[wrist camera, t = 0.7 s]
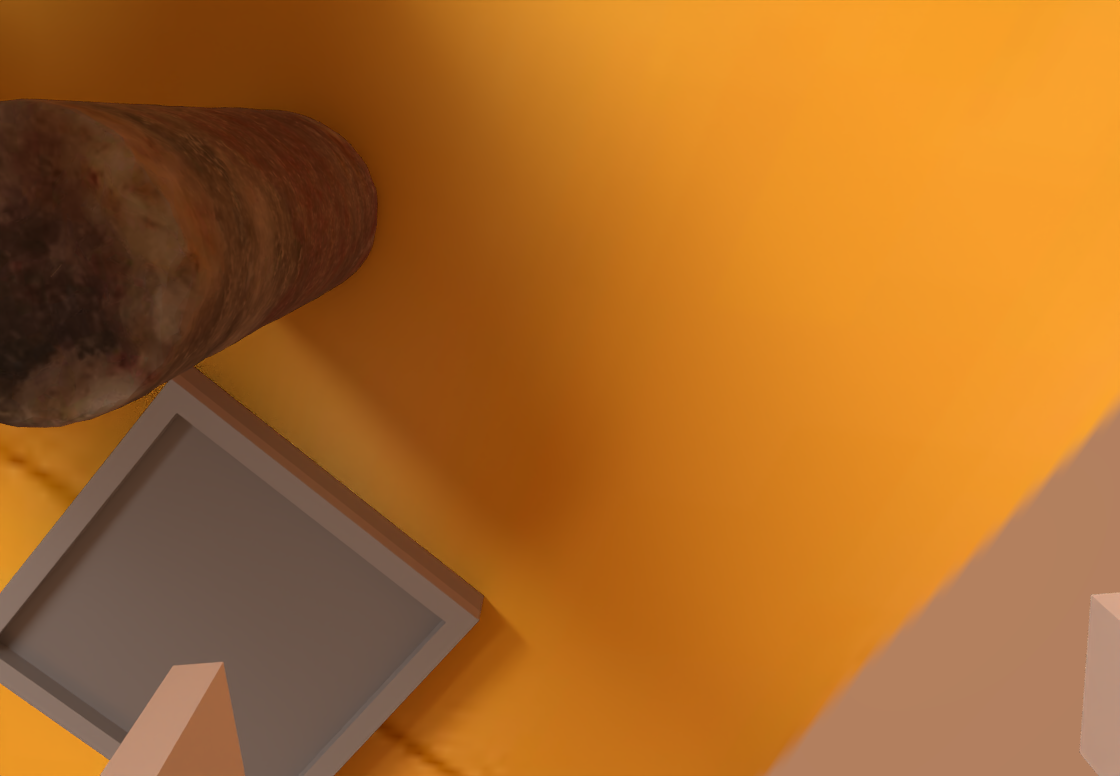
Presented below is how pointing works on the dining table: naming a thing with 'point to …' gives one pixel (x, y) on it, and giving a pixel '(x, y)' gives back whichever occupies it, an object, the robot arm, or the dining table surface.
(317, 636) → the tray
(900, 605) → the dining table surface
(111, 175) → the brown cylinder
